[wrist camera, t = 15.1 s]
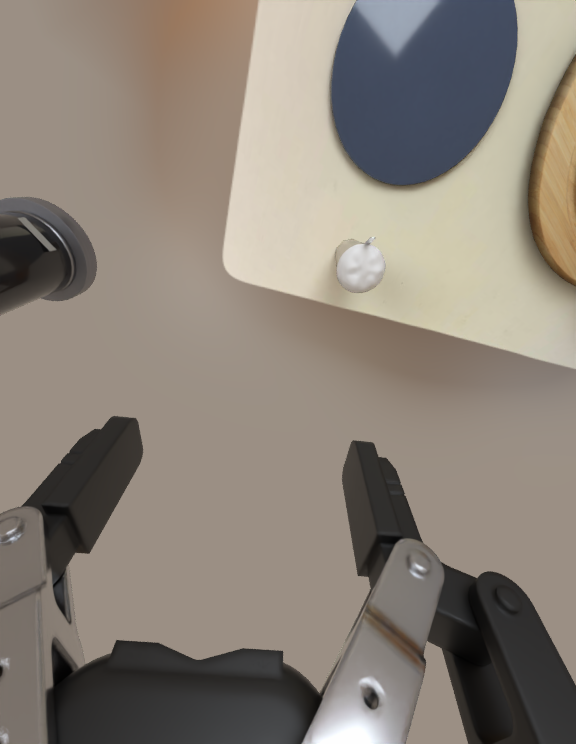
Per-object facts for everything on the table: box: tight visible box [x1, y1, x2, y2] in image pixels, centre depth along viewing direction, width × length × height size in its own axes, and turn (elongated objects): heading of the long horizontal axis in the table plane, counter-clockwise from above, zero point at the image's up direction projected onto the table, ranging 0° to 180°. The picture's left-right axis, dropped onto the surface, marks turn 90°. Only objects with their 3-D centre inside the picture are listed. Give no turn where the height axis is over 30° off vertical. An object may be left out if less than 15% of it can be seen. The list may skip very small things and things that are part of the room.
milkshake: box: [335, 237, 386, 293], centre depth 31 cm, size 4×5×10 cm
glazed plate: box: [331, 0, 518, 185], centre depth 27 cm, size 16×16×1 cm
